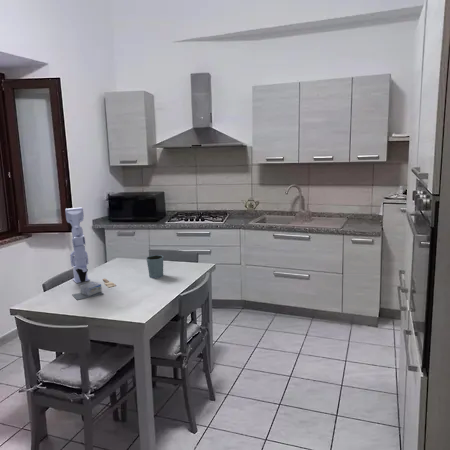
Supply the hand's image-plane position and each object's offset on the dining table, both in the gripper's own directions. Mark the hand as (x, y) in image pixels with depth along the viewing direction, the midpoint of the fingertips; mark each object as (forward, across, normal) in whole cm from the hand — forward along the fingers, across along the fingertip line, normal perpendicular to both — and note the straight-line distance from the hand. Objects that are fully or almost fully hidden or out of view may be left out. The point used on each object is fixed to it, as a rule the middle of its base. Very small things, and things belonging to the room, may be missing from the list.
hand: (82, 281), depth 224 cm
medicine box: (+3, +3, +1) cm, 4 cm away
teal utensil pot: (+6, +2, +43) cm, 43 cm away
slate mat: (+5, +9, 0) cm, 10 cm away
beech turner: (+5, -3, +15) cm, 16 cm away
